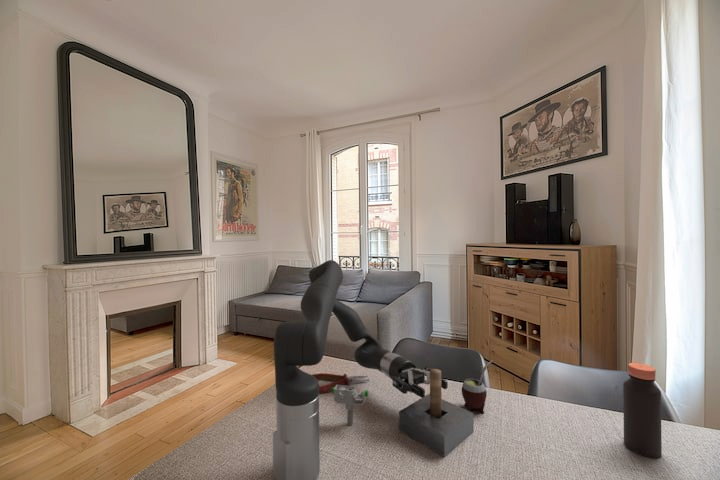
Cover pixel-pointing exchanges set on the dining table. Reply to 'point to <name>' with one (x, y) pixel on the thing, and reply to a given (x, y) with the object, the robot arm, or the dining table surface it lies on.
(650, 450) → the bottle
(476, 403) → the mate gourd
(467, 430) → the grey square hole block
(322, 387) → the pliers
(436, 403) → the pin
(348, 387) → the mechanical component
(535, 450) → the dining table surface
